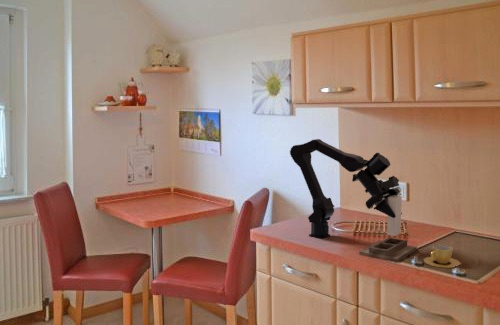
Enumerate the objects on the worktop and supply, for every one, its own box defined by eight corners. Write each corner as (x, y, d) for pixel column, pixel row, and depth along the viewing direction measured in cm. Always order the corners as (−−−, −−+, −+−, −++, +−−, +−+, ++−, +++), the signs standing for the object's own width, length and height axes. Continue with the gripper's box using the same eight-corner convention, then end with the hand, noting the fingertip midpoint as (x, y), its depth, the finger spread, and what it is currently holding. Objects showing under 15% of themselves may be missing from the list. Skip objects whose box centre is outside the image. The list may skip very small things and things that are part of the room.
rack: (359, 254, 183) (359, 245, 183) (381, 243, 197) (381, 235, 197) (396, 262, 174) (396, 253, 174) (416, 250, 188) (417, 241, 188)
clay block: (387, 234, 187) (388, 197, 186) (392, 231, 191) (393, 195, 190) (394, 236, 186) (396, 198, 184) (400, 233, 189) (401, 196, 188)
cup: (440, 255, 182) (441, 241, 181) (468, 265, 171) (469, 249, 171) (415, 260, 177) (416, 245, 176) (443, 271, 166) (443, 254, 165)
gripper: (374, 172, 181) (403, 207, 175) (395, 166, 195) (423, 198, 190) (353, 191, 187) (381, 225, 181) (376, 185, 201) (402, 216, 195)
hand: (397, 216), depth 187 cm, fingers closed on clay block, 5 cm apart
